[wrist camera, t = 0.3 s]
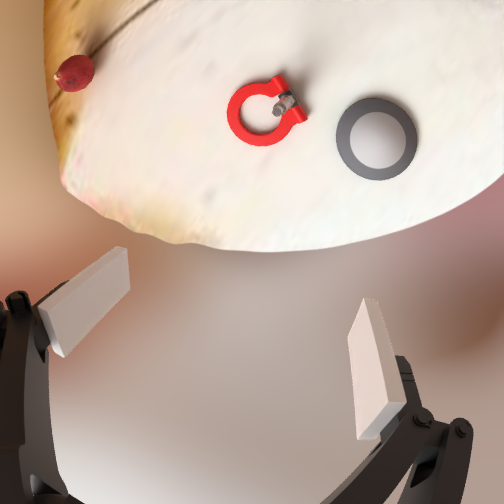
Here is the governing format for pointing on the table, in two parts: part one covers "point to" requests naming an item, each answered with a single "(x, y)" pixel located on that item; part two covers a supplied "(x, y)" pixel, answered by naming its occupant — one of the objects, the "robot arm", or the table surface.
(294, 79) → the table surface
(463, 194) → the table surface
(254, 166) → the table surface
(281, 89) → the tow hook
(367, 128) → the plate
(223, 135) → the table surface
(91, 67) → the onion
